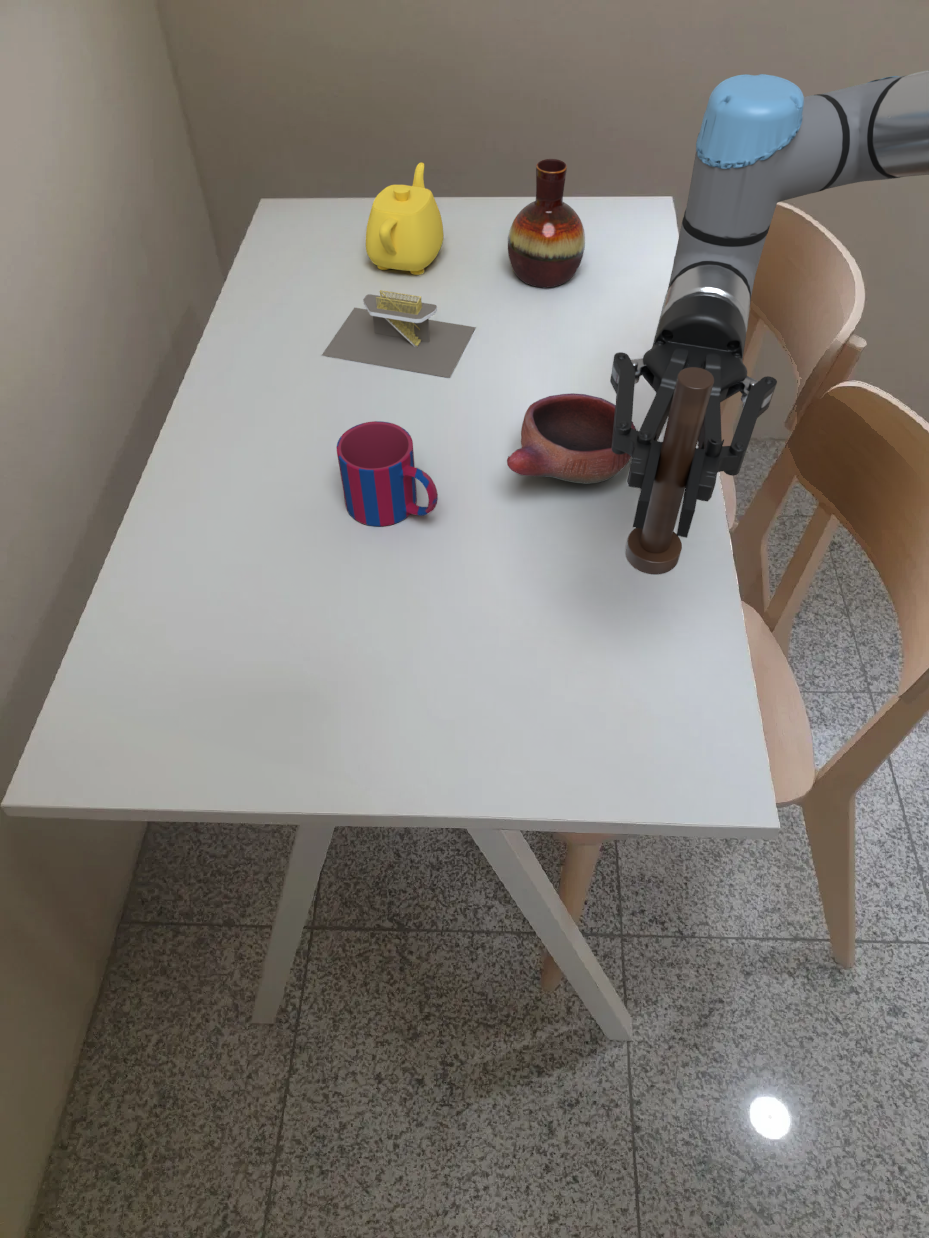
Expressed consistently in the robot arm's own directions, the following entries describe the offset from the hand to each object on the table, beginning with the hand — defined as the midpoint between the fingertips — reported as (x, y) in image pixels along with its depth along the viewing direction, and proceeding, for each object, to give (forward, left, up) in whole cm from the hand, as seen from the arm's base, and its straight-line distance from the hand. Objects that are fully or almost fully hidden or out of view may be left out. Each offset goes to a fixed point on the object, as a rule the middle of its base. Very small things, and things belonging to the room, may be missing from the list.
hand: (663, 518), depth 59 cm
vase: (+24, -71, -24) cm, 79 cm away
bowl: (+11, -29, -24) cm, 40 cm away
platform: (+39, -49, -24) cm, 67 cm away
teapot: (+45, -70, -24) cm, 87 cm away
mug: (+29, -18, -24) cm, 42 cm away
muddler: (0, -5, -10) cm, 11 cm away
